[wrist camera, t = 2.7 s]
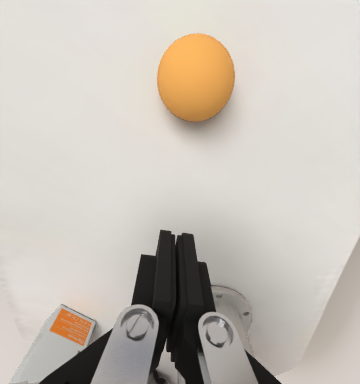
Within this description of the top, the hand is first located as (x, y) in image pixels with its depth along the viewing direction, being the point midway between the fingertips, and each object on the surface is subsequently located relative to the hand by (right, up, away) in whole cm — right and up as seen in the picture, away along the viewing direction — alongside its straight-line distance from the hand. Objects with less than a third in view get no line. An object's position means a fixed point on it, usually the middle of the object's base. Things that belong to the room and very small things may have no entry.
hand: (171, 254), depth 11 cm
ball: (+2, +12, +6) cm, 13 cm away
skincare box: (-16, -16, +21) cm, 30 cm away
